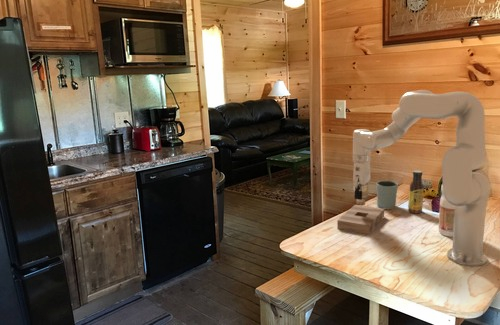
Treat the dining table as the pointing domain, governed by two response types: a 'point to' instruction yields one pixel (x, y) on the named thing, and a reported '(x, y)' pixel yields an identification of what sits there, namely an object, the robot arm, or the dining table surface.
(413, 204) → the sauce bottle
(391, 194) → the grey green cup
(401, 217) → the dining table surface
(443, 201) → the fruit juice
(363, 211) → the walnut slab
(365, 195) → the wooden peg
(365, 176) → the robot arm
